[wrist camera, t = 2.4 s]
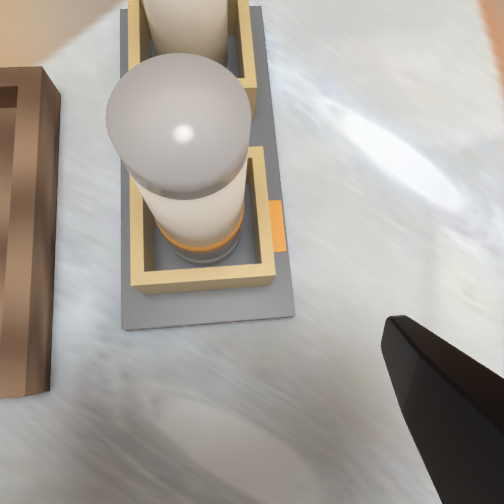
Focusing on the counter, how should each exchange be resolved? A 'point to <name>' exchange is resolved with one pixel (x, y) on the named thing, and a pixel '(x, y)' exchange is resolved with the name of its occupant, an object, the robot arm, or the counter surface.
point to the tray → (27, 227)
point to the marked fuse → (185, 150)
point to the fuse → (189, 27)
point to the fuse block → (254, 219)
